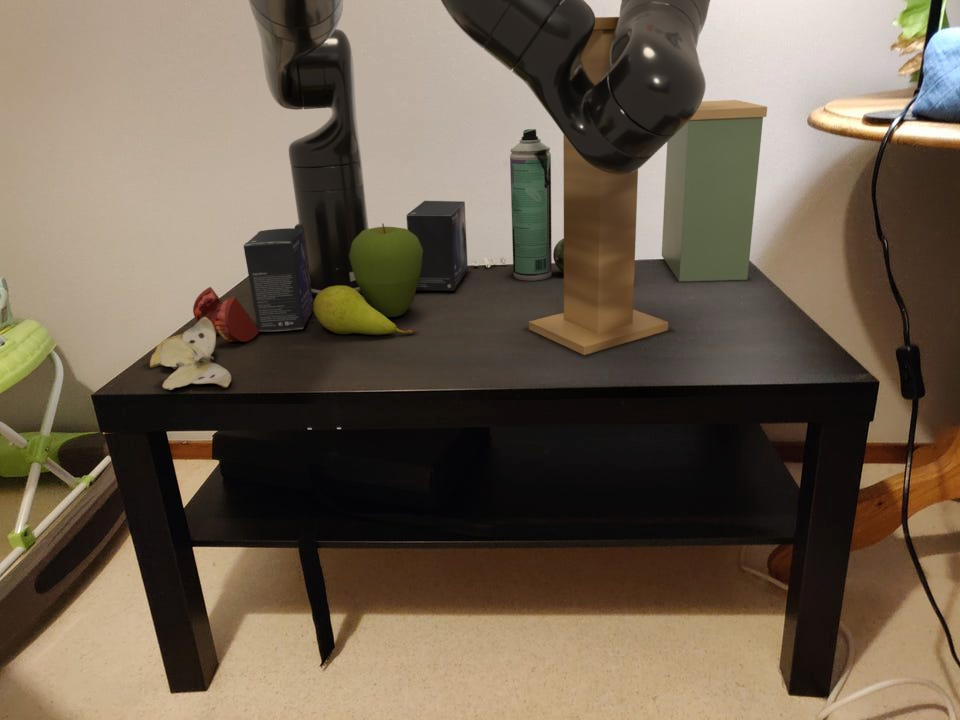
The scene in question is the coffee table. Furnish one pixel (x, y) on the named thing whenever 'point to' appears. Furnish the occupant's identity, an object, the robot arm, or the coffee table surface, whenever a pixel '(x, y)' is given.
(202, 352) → the butterfly
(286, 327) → the box
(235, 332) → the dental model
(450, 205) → the small box
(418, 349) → the coffee table surface
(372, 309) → the fruit
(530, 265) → the spray can
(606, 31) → the stand
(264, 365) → the coffee table surface
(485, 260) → the miniature set
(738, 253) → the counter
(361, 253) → the apple
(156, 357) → the pale yellow butterfly wing
